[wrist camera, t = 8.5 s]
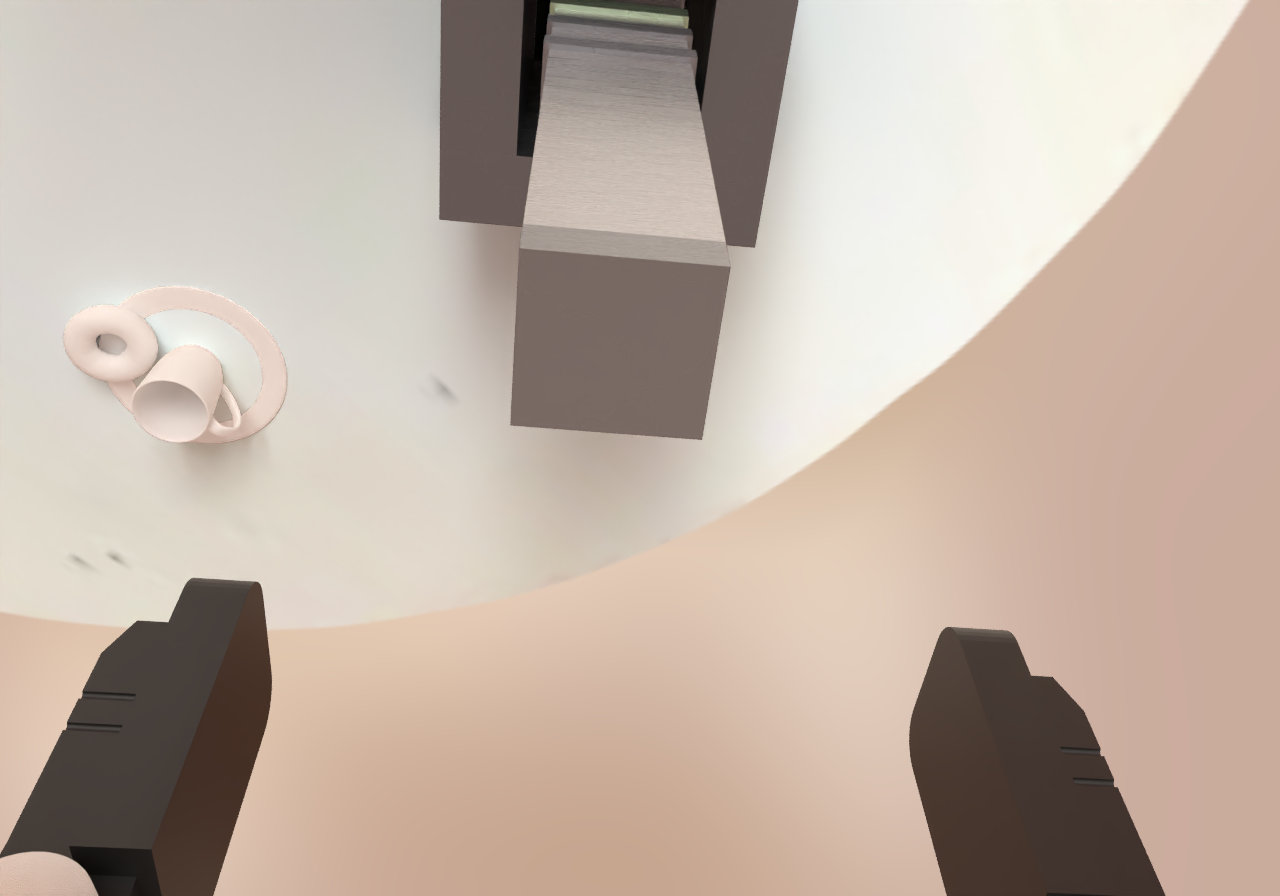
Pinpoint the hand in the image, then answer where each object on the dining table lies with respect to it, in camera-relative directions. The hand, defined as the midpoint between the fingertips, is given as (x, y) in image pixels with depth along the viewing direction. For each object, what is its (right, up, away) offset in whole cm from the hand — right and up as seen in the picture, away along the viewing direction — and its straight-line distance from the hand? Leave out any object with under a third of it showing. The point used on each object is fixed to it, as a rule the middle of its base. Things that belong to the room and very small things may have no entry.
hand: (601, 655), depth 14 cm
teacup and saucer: (-19, +9, +36) cm, 41 cm away
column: (0, +15, +22) cm, 27 cm away
